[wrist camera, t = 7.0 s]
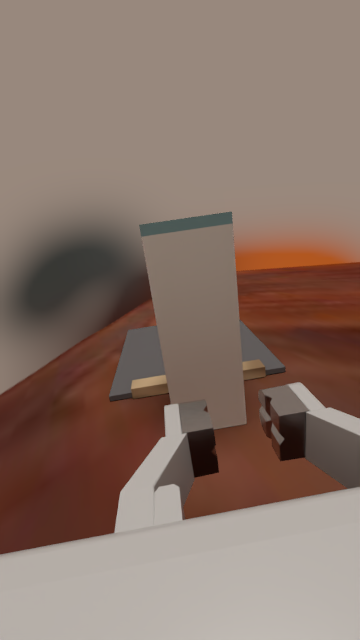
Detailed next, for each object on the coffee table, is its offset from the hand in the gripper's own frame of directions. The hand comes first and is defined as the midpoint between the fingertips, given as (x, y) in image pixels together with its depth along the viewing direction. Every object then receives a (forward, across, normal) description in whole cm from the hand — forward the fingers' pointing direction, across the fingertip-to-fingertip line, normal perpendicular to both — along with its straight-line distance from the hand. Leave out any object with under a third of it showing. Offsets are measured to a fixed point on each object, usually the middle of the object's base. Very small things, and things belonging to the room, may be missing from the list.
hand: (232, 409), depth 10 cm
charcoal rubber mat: (+21, 0, +7) cm, 22 cm away
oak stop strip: (+13, 0, +7) cm, 15 cm away
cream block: (+9, 0, +7) cm, 12 cm away
